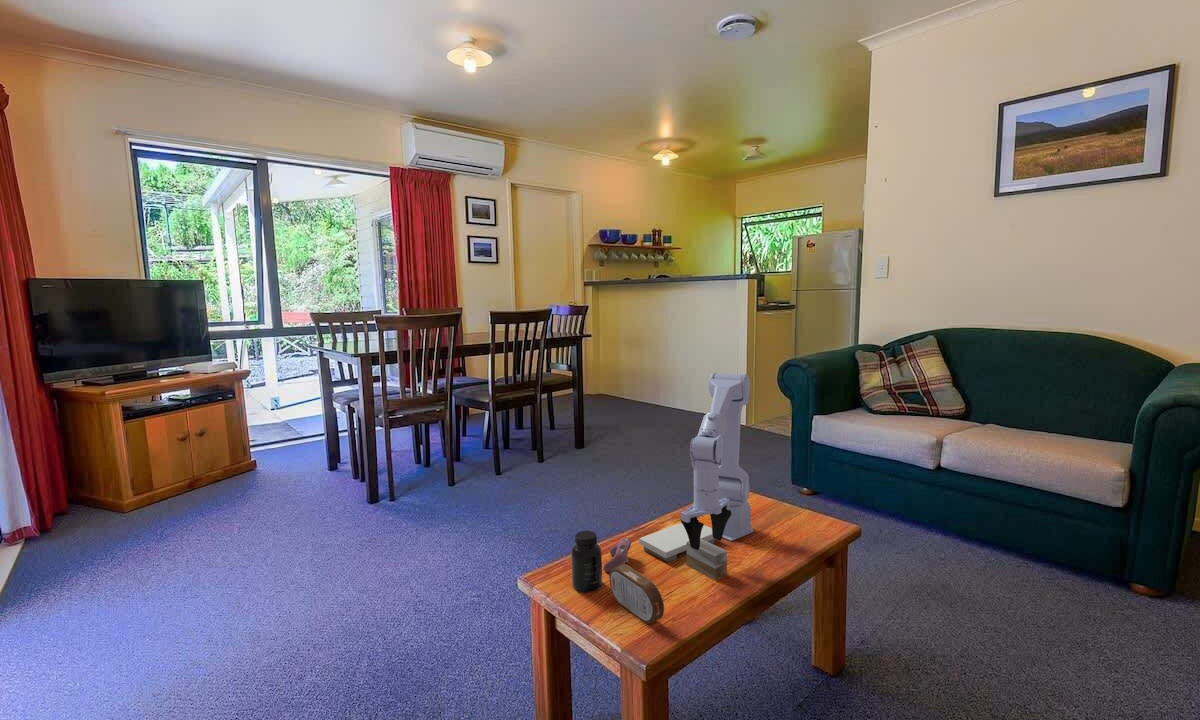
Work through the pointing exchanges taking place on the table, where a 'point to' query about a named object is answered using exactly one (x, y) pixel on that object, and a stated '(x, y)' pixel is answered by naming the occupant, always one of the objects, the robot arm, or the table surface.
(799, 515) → the table surface
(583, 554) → the supplement bottle
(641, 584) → the tin
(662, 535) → the stand
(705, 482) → the robot arm
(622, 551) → the video game controller
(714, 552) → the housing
